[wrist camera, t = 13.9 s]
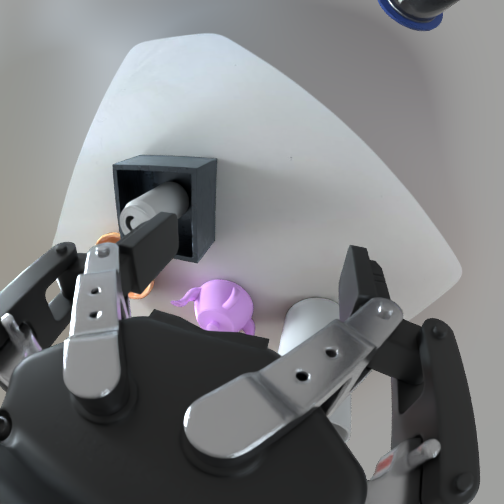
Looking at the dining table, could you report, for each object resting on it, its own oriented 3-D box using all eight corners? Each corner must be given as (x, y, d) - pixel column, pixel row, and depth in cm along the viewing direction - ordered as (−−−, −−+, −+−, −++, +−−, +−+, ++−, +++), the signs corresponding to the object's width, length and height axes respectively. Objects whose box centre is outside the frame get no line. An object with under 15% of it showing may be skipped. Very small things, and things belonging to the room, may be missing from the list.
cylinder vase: (357, 303, 48) (366, 424, 27) (335, 347, 54) (330, 455, 33) (293, 288, 50) (270, 409, 28) (279, 335, 56) (253, 442, 34)
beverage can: (159, 177, 44) (116, 199, 34) (193, 184, 43) (155, 209, 33) (157, 210, 47) (117, 239, 37) (189, 219, 46) (153, 252, 36)
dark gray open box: (140, 154, 44) (112, 164, 37) (217, 158, 41) (196, 168, 34) (145, 229, 51) (121, 247, 44) (214, 240, 48) (197, 263, 42)
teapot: (189, 275, 53) (169, 301, 46) (257, 272, 50) (245, 303, 42) (204, 321, 59) (189, 349, 51) (266, 322, 55) (258, 354, 47)
